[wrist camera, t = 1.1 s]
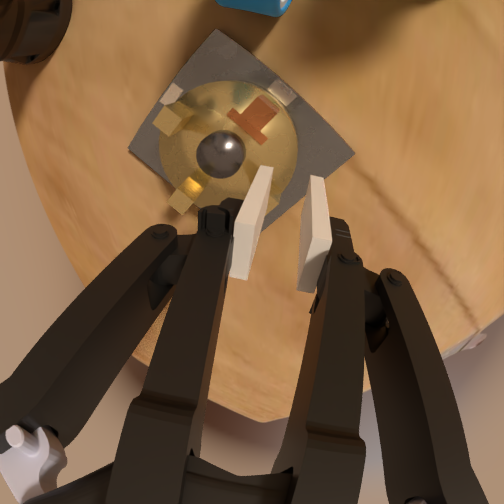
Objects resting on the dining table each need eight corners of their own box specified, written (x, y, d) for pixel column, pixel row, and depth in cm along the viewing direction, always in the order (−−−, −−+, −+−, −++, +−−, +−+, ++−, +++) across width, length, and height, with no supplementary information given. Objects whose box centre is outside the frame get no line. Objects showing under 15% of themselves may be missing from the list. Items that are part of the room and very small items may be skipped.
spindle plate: (131, 146, 35) (126, 148, 34) (218, 29, 24) (215, 28, 23) (246, 242, 41) (244, 246, 40) (354, 151, 31) (355, 154, 30)
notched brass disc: (148, 150, 34) (122, 167, 29) (223, 54, 25) (204, 50, 20) (237, 225, 38) (225, 253, 33) (326, 146, 30) (331, 163, 25)
